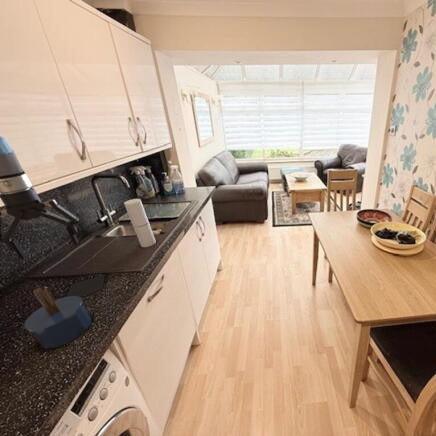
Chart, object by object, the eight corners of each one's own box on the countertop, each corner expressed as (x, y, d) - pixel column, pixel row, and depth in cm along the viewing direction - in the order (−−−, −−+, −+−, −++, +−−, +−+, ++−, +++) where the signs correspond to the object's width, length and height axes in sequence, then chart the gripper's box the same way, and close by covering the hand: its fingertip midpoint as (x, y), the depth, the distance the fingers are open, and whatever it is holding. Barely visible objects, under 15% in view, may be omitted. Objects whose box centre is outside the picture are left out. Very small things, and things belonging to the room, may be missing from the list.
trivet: (65, 303, 91) (64, 302, 91) (71, 285, 100) (70, 284, 100) (102, 290, 96) (102, 289, 96) (105, 274, 106) (105, 273, 105)
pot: (36, 357, 71) (20, 337, 67) (48, 327, 81) (35, 309, 77) (88, 336, 76) (76, 316, 73) (94, 310, 86) (83, 293, 83)
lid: (19, 341, 67) (-3, 314, 62) (34, 310, 77) (17, 285, 73) (79, 318, 73) (63, 293, 68) (86, 292, 84) (72, 269, 79)
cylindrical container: (139, 249, 124) (121, 205, 113) (144, 242, 130) (127, 199, 120) (153, 246, 125) (137, 202, 114) (157, 240, 132) (142, 198, 121)
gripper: (-54, 205, 63) (-6, 270, 72) (67, 183, 75) (95, 241, 84) (-41, 197, 68) (3, 259, 77) (70, 179, 81) (96, 233, 90)
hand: (51, 249), depth 81 cm, fingers open, 13 cm apart
